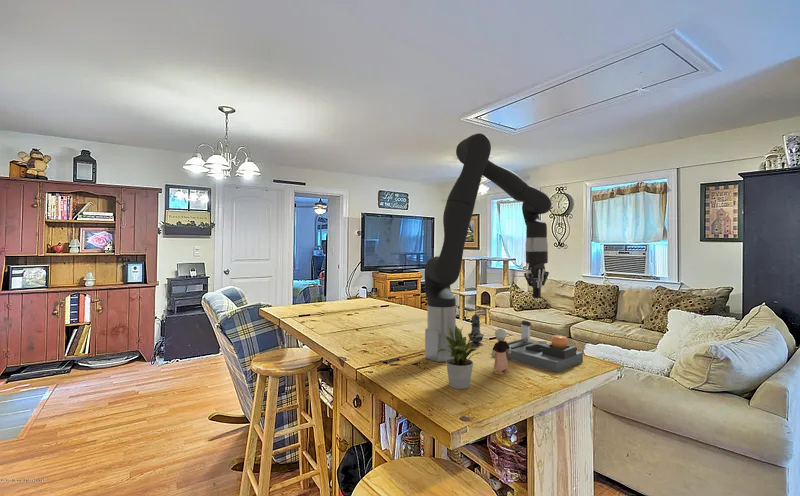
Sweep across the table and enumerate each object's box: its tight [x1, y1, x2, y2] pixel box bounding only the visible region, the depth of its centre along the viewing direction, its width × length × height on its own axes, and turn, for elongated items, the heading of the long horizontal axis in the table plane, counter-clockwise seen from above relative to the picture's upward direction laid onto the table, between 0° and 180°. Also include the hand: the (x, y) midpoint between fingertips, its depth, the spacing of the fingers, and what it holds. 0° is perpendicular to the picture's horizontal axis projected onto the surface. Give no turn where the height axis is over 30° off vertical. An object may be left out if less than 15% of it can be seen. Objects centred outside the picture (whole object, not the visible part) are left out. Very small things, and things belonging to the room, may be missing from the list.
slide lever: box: [520, 319, 532, 342], centre depth 131 cm, size 2×3×7 cm, turn 38°
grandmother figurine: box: [490, 328, 511, 376], centre depth 108 cm, size 8×4×13 cm, turn 135°
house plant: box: [432, 324, 486, 390], centre depth 99 cm, size 14×14×16 cm
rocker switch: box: [528, 338, 548, 345], centre depth 122 cm, size 5×4×1 cm
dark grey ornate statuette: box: [467, 312, 485, 347], centre depth 140 cm, size 6×6×12 cm
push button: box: [551, 334, 568, 349], centre depth 116 cm, size 4×4×3 cm
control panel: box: [495, 338, 584, 373], centre depth 122 cm, size 16×22×6 cm
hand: (536, 298), depth 135 cm, fingers closed
